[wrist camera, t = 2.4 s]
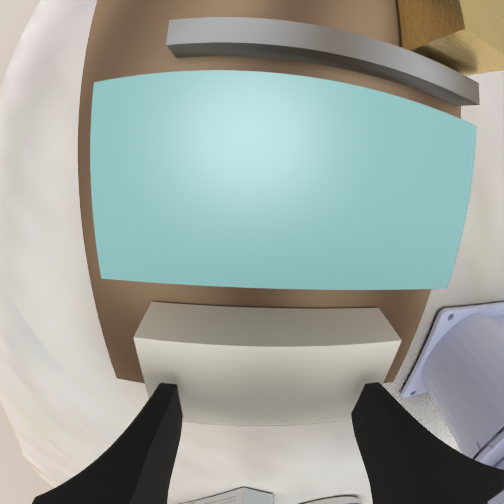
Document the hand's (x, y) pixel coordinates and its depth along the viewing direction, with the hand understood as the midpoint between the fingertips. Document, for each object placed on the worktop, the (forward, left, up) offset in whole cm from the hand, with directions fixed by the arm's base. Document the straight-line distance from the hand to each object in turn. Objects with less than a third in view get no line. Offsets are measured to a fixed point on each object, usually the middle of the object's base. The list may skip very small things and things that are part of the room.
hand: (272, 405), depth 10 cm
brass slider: (-6, -15, -3) cm, 17 cm away
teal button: (0, -8, -2) cm, 8 cm away
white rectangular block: (0, 0, -3) cm, 3 cm away
